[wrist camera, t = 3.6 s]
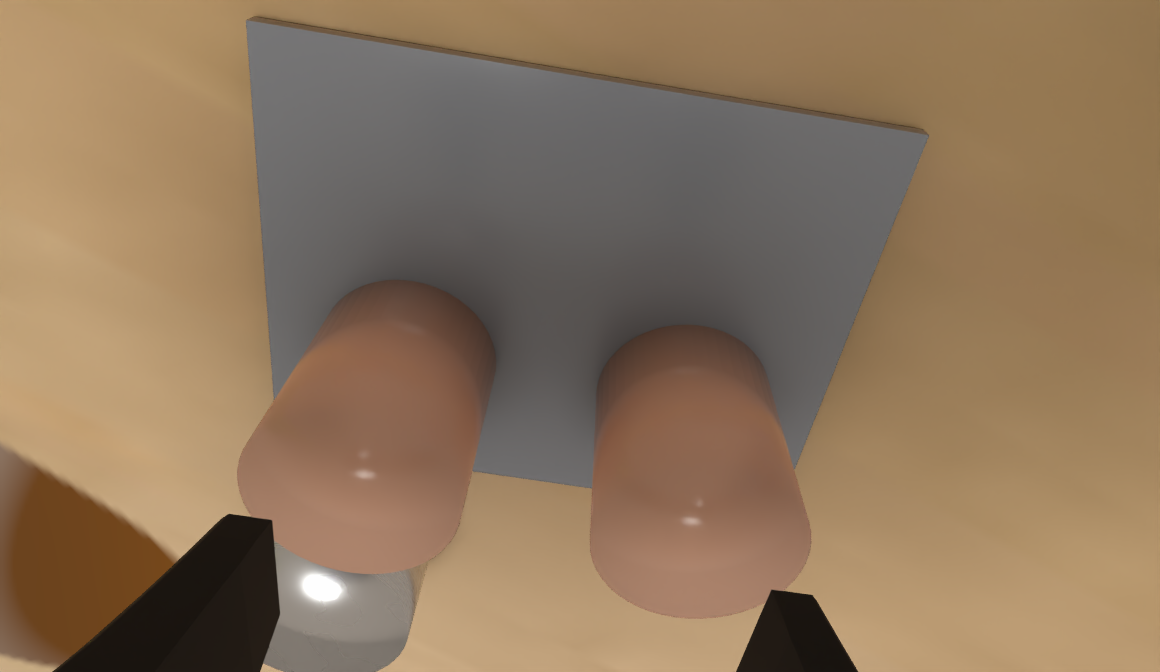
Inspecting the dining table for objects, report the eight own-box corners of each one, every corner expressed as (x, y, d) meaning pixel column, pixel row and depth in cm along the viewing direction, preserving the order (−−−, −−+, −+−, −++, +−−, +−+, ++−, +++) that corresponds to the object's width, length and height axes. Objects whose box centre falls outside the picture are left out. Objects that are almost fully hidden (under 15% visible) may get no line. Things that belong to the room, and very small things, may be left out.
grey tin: (444, 455, 22) (412, 565, 18) (434, 574, 24) (405, 690, 21) (265, 429, 21) (199, 536, 18) (276, 552, 24) (219, 665, 21)
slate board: (923, 129, 16) (929, 134, 16) (773, 504, 22) (776, 515, 22) (253, 16, 16) (245, 20, 15) (282, 433, 21) (277, 442, 21)
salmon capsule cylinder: (790, 339, 19) (842, 482, 14) (743, 474, 21) (775, 630, 17) (612, 311, 18) (610, 448, 14) (583, 450, 21) (574, 603, 16)
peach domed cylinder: (504, 295, 18) (470, 427, 14) (487, 437, 21) (454, 586, 16) (319, 266, 18) (227, 391, 14) (323, 412, 20) (246, 558, 16)
